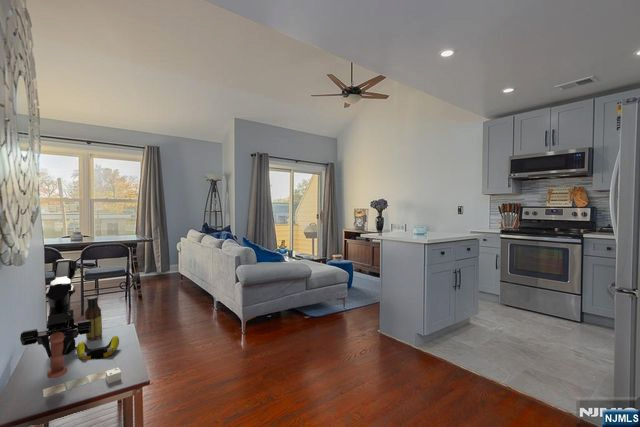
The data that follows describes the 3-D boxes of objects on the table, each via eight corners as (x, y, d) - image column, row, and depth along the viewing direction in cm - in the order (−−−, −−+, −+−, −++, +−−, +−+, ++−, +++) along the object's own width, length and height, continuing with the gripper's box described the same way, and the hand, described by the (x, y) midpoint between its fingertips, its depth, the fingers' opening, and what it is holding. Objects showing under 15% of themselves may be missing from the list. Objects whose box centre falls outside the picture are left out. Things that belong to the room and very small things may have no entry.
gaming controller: (77, 353, 130) (74, 364, 121) (77, 341, 130) (73, 351, 121) (119, 345, 138) (118, 355, 130) (119, 334, 138) (118, 343, 129)
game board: (41, 402, 99) (41, 399, 99) (39, 386, 107) (39, 382, 107) (110, 379, 112) (110, 376, 112) (104, 366, 121) (104, 363, 121)
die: (107, 386, 108) (107, 375, 108) (105, 381, 111) (105, 371, 111) (121, 382, 111) (121, 371, 111) (118, 377, 114) (118, 367, 114)
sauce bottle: (101, 333, 149) (101, 294, 148) (102, 338, 144) (103, 297, 143) (84, 337, 145) (84, 296, 144) (85, 342, 140) (85, 300, 139)
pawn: (42, 378, 101) (42, 335, 101) (56, 369, 107) (55, 328, 106) (58, 378, 101) (58, 335, 101) (71, 369, 107) (70, 329, 106)
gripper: (20, 308, 100) (14, 354, 92) (91, 298, 112) (91, 339, 103) (25, 323, 107) (19, 367, 99) (91, 312, 118) (91, 352, 110)
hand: (56, 356), depth 103 cm, fingers closed on pawn, 3 cm apart
